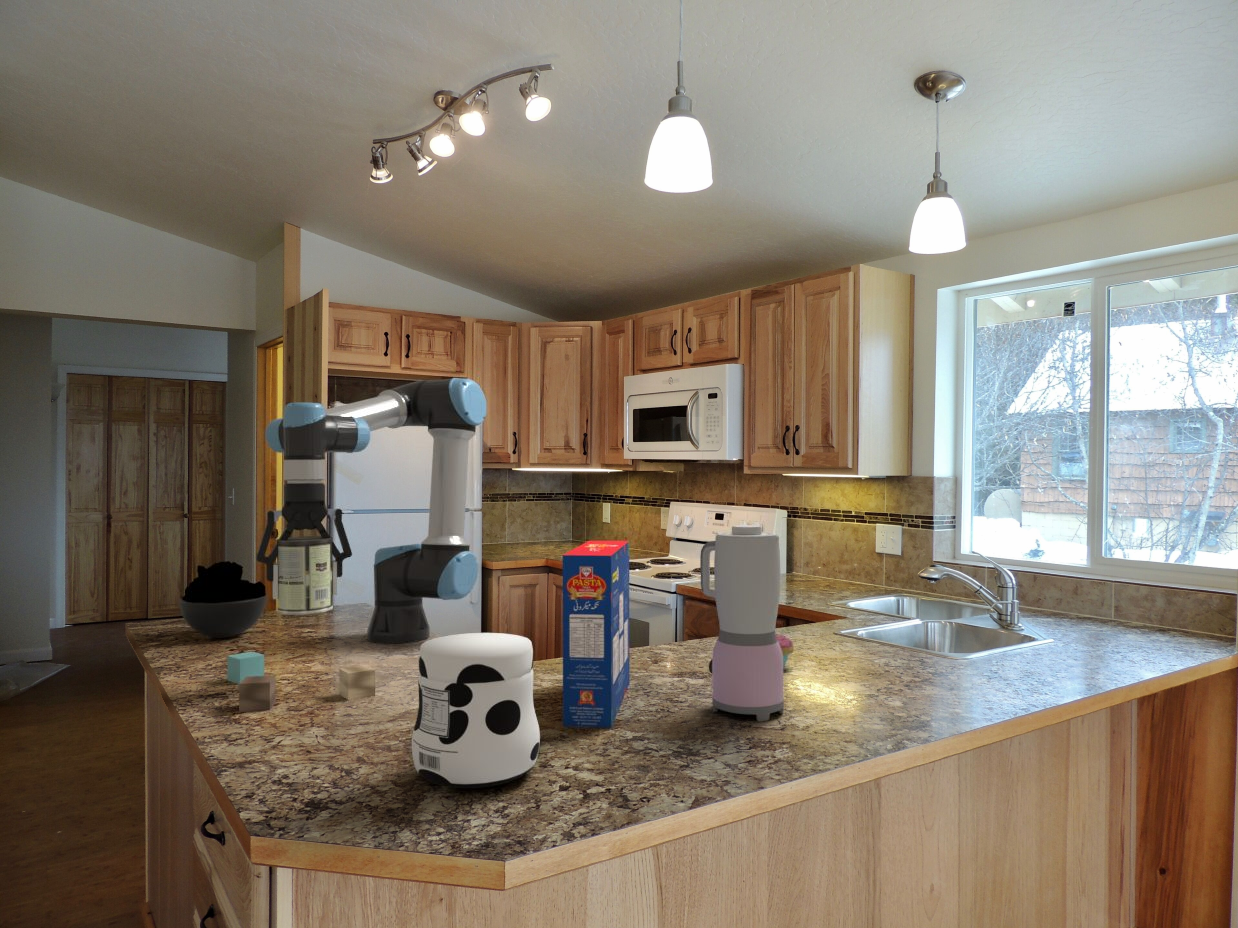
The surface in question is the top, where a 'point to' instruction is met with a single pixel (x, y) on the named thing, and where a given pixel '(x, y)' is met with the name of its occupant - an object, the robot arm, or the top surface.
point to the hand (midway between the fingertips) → (305, 595)
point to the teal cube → (244, 666)
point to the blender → (745, 621)
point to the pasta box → (595, 632)
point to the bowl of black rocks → (222, 601)
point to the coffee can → (304, 575)
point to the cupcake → (785, 647)
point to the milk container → (475, 710)
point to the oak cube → (356, 682)
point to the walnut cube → (257, 693)
